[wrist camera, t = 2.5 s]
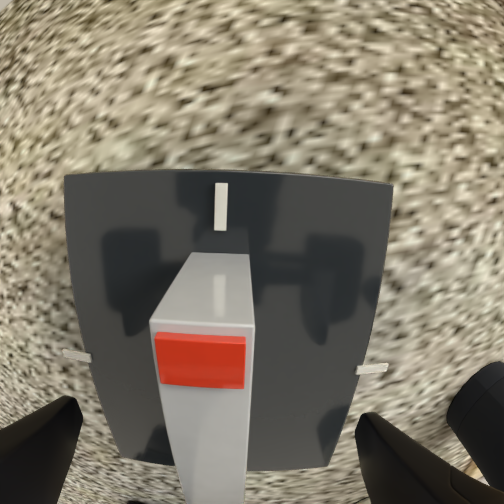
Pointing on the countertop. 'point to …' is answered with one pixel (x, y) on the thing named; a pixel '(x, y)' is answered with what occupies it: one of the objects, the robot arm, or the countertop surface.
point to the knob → (207, 374)
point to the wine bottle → (482, 421)
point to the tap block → (263, 287)
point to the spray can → (364, 501)
